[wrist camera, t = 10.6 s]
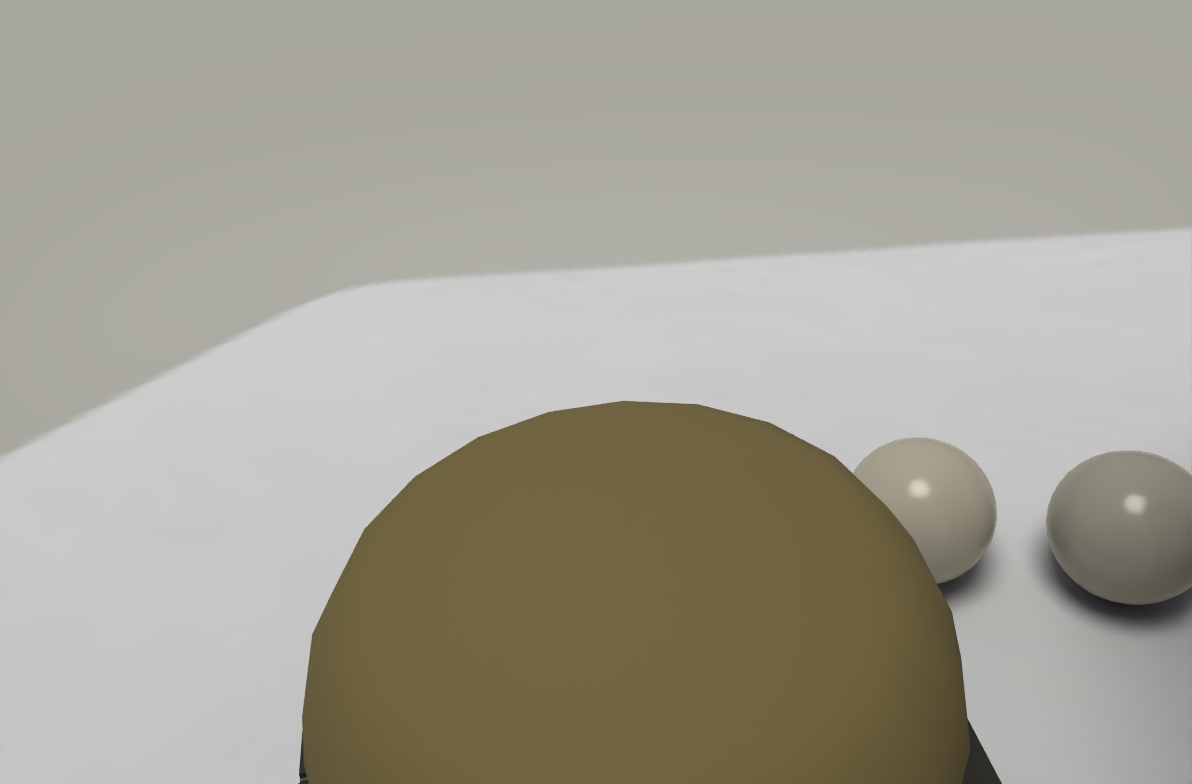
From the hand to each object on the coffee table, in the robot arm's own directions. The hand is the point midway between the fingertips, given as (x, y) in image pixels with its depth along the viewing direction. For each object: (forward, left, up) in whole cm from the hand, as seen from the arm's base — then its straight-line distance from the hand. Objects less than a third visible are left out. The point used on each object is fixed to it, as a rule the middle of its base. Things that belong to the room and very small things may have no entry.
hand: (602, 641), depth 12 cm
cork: (+3, -1, -7) cm, 7 cm away
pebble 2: (0, +13, -8) cm, 15 cm away
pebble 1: (-3, +10, -8) cm, 13 cm away
